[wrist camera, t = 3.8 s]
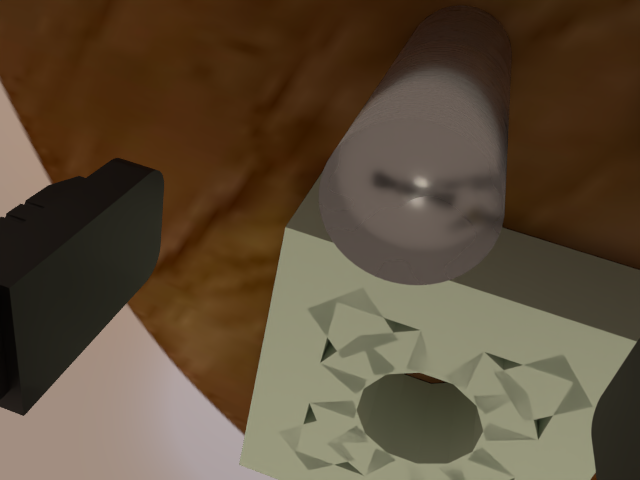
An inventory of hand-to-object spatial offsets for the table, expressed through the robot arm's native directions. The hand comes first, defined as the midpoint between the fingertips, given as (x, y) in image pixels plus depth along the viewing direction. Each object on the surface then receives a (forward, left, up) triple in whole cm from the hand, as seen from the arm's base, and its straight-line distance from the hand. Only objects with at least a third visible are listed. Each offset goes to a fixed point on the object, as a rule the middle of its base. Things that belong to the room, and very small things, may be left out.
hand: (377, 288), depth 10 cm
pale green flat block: (-3, +13, -15) cm, 20 cm away
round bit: (0, 0, -15) cm, 15 cm away
